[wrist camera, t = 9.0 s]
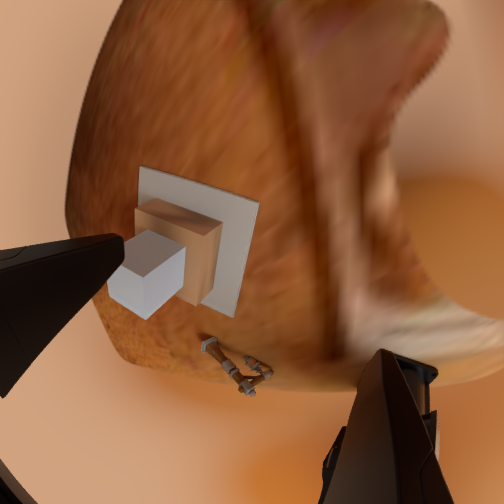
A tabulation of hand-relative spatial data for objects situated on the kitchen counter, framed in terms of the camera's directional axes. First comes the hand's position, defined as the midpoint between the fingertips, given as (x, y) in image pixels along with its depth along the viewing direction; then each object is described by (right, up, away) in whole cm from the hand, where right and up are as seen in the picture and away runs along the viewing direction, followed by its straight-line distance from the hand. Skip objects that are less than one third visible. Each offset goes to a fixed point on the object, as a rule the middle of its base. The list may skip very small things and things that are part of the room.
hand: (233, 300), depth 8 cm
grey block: (-7, +1, +14) cm, 16 cm away
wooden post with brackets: (-1, -10, +21) cm, 23 cm away
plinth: (-6, +2, +17) cm, 18 cm away
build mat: (-5, +2, +17) cm, 18 cm away
